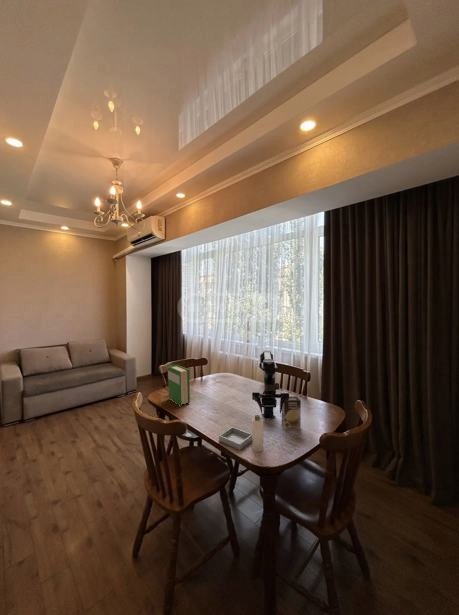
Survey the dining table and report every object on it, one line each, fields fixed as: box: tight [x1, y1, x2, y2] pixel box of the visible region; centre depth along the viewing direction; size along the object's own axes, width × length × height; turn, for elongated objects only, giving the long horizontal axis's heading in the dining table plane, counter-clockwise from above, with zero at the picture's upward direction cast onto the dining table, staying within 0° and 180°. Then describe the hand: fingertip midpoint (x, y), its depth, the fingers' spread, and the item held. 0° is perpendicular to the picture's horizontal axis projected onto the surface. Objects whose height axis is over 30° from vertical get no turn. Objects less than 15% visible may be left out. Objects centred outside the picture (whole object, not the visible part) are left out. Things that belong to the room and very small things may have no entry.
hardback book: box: [167, 364, 191, 407], centre depth 176 cm, size 18×7×24 cm, turn 39°
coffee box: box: [281, 395, 302, 430], centre depth 138 cm, size 9×6×16 cm
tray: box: [218, 426, 252, 452], centre depth 126 cm, size 11×13×3 cm
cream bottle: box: [251, 414, 264, 453], centre depth 119 cm, size 5×5×16 cm
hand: (271, 413), depth 124 cm, fingers open, 9 cm apart
